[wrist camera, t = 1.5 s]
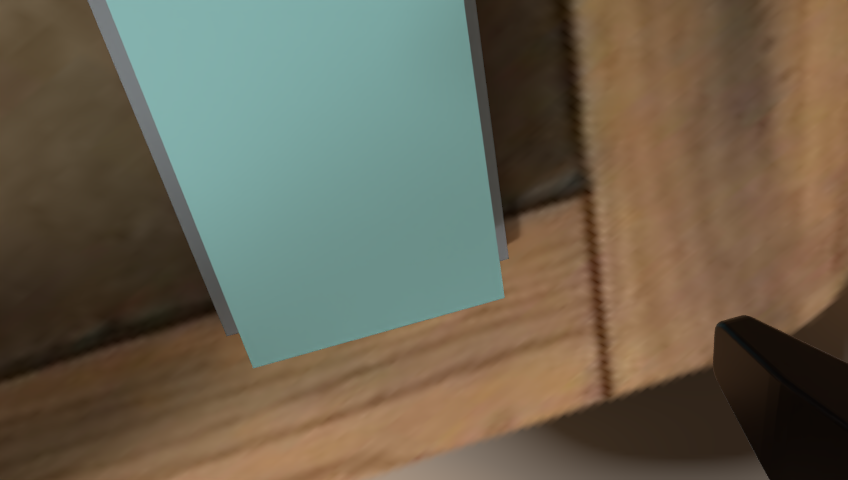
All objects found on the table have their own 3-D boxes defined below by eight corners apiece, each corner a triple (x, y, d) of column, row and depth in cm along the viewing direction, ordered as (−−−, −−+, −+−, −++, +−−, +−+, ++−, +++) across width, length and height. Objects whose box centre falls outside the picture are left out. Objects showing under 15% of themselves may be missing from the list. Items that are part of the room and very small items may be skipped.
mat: (503, 248, 24) (508, 258, 24) (226, 324, 24) (226, 336, 23) (447, -167, 18) (454, -165, 17) (60, -83, 17) (55, -78, 16)
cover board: (474, 240, 23) (504, 297, 21) (249, 302, 23) (253, 368, 20) (419, -108, 18) (451, -88, 15) (119, -41, 17) (102, -8, 15)
